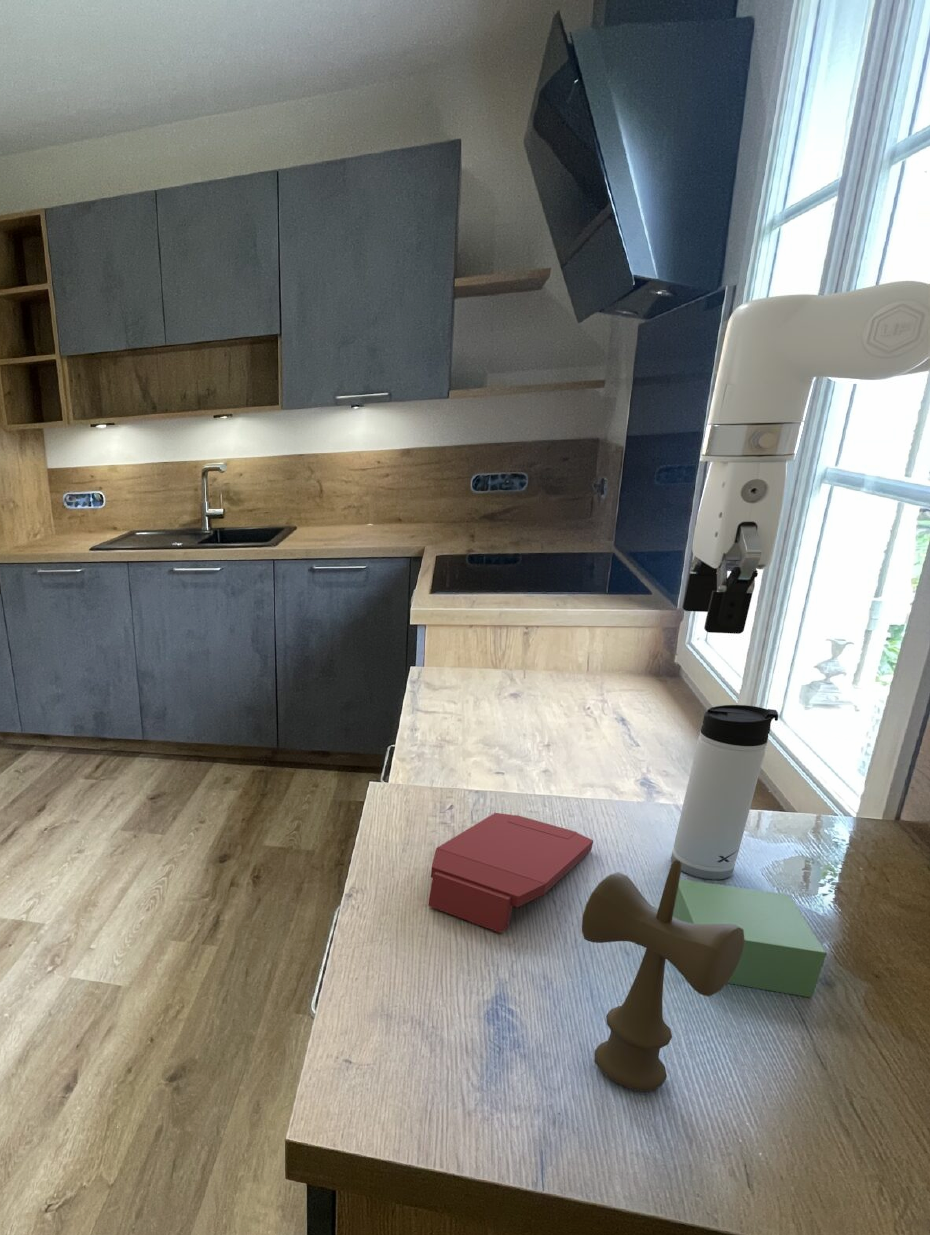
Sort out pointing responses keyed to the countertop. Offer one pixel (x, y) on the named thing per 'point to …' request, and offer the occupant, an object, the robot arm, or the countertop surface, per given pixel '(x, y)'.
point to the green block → (758, 934)
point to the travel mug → (721, 789)
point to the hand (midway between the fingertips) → (710, 621)
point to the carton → (501, 867)
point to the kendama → (653, 971)
